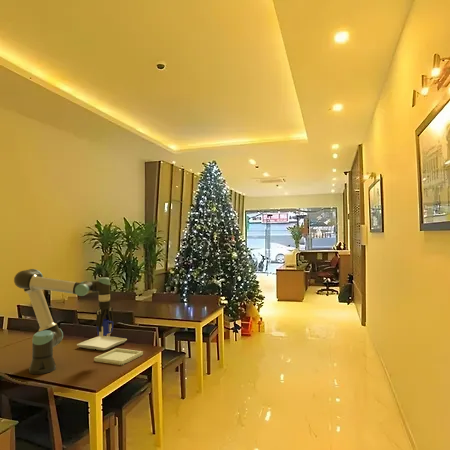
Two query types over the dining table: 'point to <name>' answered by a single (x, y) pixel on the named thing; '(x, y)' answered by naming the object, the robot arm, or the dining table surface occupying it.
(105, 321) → the mug
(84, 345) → the square plate
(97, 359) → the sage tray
